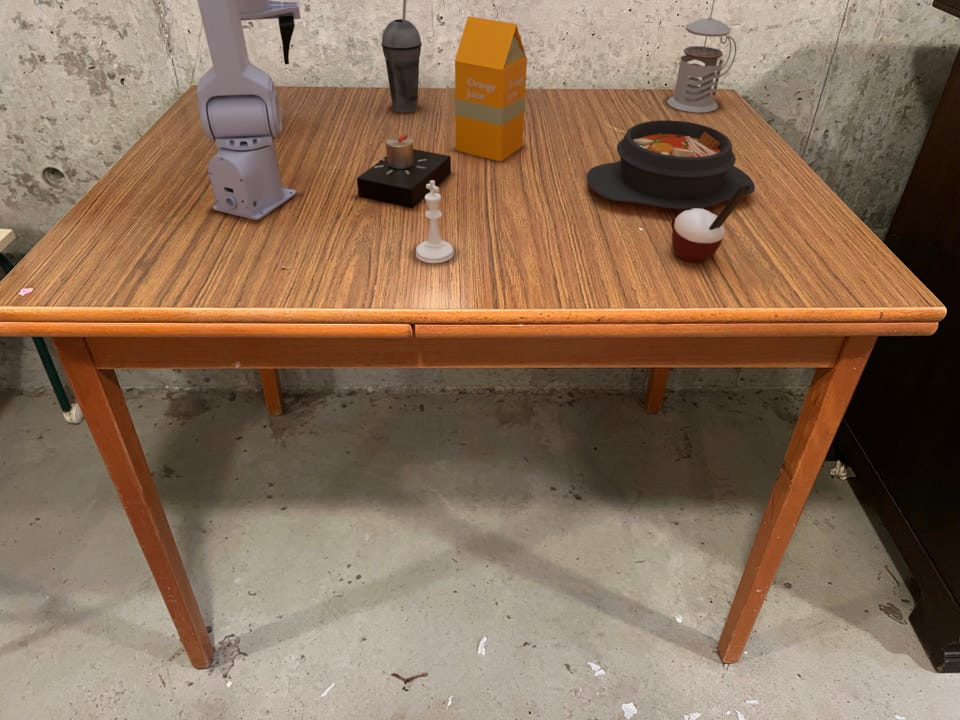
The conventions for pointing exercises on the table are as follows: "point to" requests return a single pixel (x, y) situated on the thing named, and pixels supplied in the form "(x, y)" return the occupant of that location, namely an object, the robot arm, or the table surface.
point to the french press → (700, 69)
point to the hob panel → (404, 179)
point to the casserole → (671, 167)
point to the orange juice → (490, 89)
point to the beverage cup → (402, 62)
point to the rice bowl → (702, 230)
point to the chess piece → (434, 232)
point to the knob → (400, 152)
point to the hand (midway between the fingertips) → (263, 63)
